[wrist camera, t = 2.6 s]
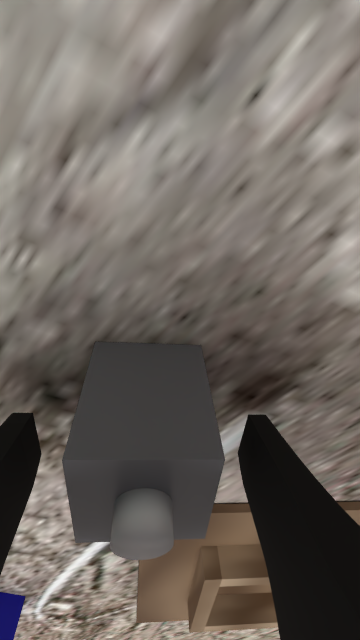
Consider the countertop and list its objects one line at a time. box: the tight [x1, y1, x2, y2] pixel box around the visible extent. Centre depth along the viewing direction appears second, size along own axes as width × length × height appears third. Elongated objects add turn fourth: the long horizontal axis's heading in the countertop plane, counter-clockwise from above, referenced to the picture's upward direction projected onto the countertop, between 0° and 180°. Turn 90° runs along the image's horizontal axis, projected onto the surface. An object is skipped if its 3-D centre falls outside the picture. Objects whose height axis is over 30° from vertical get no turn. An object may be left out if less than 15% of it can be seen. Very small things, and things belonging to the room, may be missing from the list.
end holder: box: [136, 501, 360, 633], centre depth 22 cm, size 16×16×2 cm
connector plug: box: [62, 342, 225, 560], centre depth 11 cm, size 4×4×6 cm
